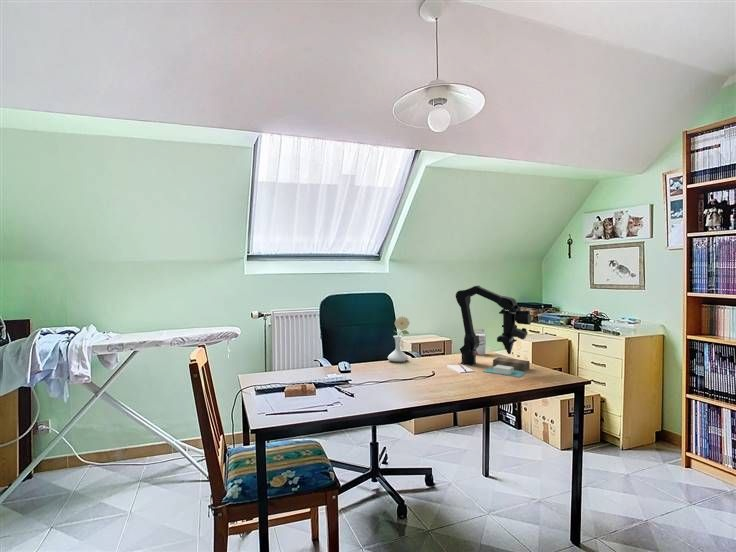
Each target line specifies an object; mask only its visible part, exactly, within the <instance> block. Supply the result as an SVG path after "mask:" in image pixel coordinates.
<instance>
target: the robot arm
mask: <svg viewBox="0 0 736 552" xmlns="http://www.w3.org/2000/svg"><path fill="white" fill-rule="evenodd" d="M475 295H478V296H481V297H483V298H485V299H487V300H489V301H491V302H494V303H495V304H496V305H498V306H499V307H500V308H502V309H501V310H500V311H499V312H498V314H500V315H502V316H503V317H502V321H503V322H502V325H501V328H503V329H502V330H503V331H502V333H501V334H500V335H498V336H497V337H496V342H497V343H502V345H503V346H504V349H505V351H506V353H507V354H508V355H510V354H511V353H512V350H513V346H514V344H515V342H517V341H518V339H521V340H524V339H526V337H527V336H528V331H527V328H525V327H523V328H518V325H531V324H532V314H531V310H522V309H521V308H520V307H519V306H518V305H519V304H518V303H517V300H516V299H515V298H513V297H510V296H504V295H500V294H497V293H495V292H493V291H491V290H488V289H486V288H484V287H482V286H480V285H473V286H472V287H469V288H467V289H461V290H458V291H456V293H455V300H456V303H457V304H458V306H459V307H460V312H461V316H462V317H461V318H462V323H463V327H464V336H463V337H464V339H463V345H462V346H461V347H460V348H459V352H460V353H461V362H459V363H460V364H461V365H468V366H473V365H475V364H476V363H477V362H476V360H477V358H476V357H477V355H475V352H474V351H476V348H478V346H479V343H480V341H479V335H477V336H476V335H475V333H474V329H475V328H474V324H473V318H472V314H471V313H472V312H471V306H470V304H471V298H472V297H473V296H475ZM516 323H517V324H518V325H517V324H516ZM516 338H518V339H516Z"/></svg>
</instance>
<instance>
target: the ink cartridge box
mask: <svg viewBox="0 0 736 552" xmlns="http://www.w3.org/2000/svg"><path fill="white" fill-rule="evenodd" d="M473 329H474V333H475V335H476V336H477V335H479V341H480V343H479V346H478V348H476V351H474V352H475V355H476V356H486V348H487V347H486V345H487V344H486V340H487V339H486V336H487V335H486V334H485V329H484V328H473Z"/></svg>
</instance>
